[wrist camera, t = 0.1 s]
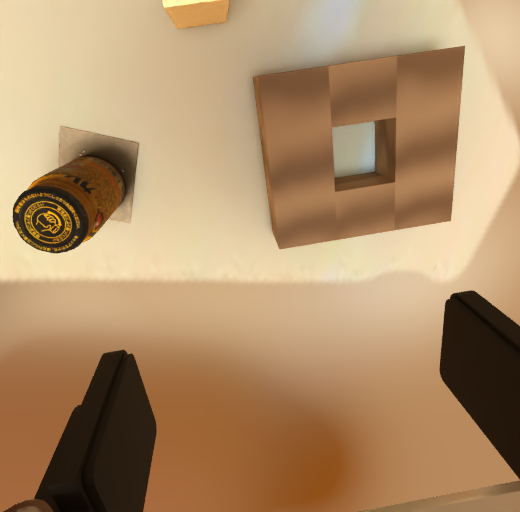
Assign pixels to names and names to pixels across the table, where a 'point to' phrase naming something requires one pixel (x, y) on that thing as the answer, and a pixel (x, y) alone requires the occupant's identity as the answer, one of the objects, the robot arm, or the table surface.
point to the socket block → (386, 145)
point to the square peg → (196, 12)
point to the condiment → (78, 192)
